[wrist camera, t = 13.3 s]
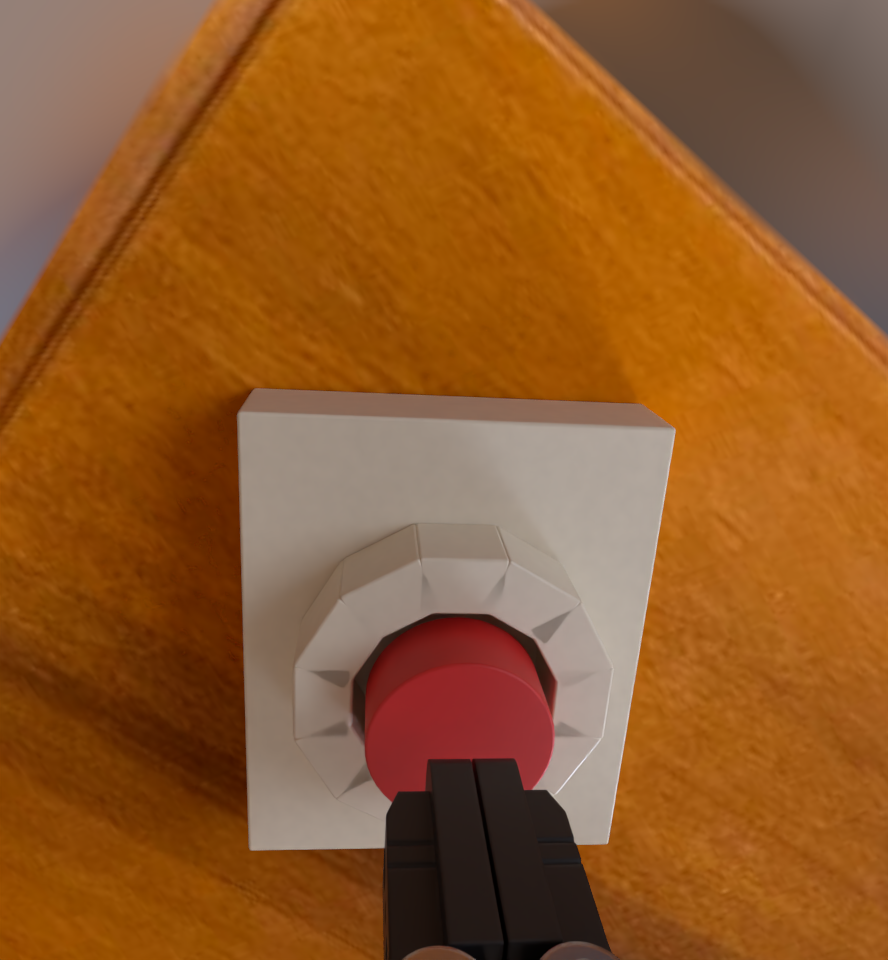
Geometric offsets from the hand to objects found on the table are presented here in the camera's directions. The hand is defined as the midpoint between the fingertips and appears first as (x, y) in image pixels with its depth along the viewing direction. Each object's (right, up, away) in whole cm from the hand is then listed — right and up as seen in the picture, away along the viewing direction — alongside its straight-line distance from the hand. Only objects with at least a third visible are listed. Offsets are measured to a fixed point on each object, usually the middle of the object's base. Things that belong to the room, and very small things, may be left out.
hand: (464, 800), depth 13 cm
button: (0, +1, +3) cm, 3 cm away
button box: (0, +2, +6) cm, 7 cm away
